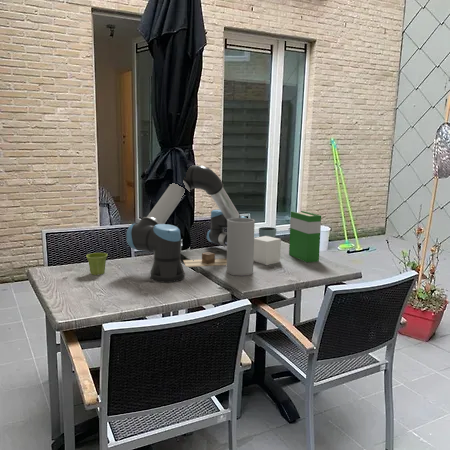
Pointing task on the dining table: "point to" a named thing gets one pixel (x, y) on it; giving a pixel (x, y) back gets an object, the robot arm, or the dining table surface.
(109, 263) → the dining table surface
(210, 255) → the walnut block
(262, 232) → the grey-blue cup
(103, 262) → the plant pot
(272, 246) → the white cover
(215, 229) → the robot arm
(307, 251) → the hardback book
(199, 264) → the wooden cutting board
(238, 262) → the cylinder vase
